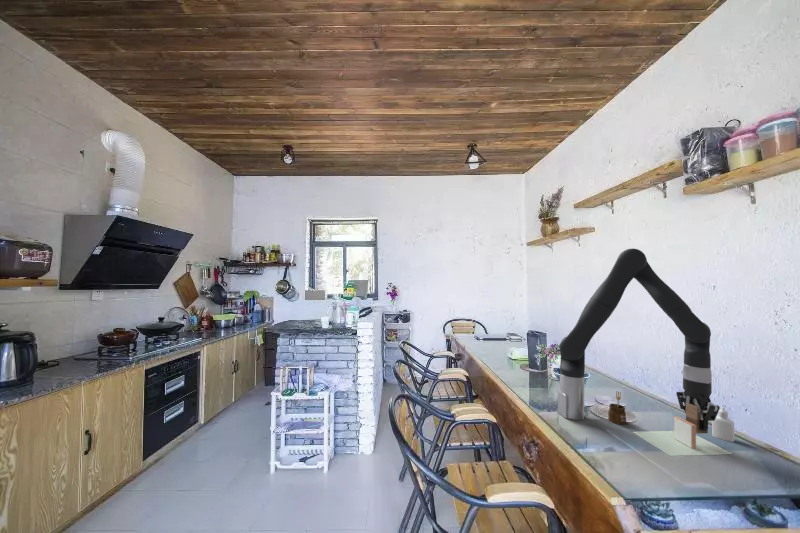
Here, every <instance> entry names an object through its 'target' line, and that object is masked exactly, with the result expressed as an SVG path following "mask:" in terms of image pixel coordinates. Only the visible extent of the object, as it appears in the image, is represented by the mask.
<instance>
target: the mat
mask: <svg viewBox="0 0 800 533" xmlns="http://www.w3.org/2000/svg"><path fill="white" fill-rule="evenodd" d="M632 433H633V434H634V435H636V436H638V437H640V438H641V439H642V440H644V441H645V442H647V443H649V444H650V445H651V446H654V447H655V448H657V449H658V450H660V451H661V452H663V453H665V455H668V456H669V457H683V456H685V457H686V456H712V455H713V456H714V455H715V456H716V455H718V456H719V455H733V453H732V452H730V451H728V450H726V449H724V448H722V447H720V446H719V445H716V444H714V443H713V442H711V441H708V440H707V439H705V438H703V437H700V436H699V435H697V434H696V449H692V448H690V447H688V446H686V445H685V444H683V443H681V442H679V441H677V440H676V439H674V430H655V431H654V430H651V431H650V430H649V431H632Z"/></svg>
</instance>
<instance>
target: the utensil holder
mask: <svg viewBox="0 0 800 533" xmlns="http://www.w3.org/2000/svg"><path fill="white" fill-rule="evenodd" d="M621 393H622V391H616V394H615V396H613V398H612V399H615V400H616V402H617V403H614V401H611V402H612V403H610V404H609V408H608V413H607V414H608V415H607V417H608V418H607V419H608V421H609V422H610V423H612V424H616V425H627V414H626V412H625V411H626V408H625V406H623V405H621V404H620V400H621V397H622V394H621Z"/></svg>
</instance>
